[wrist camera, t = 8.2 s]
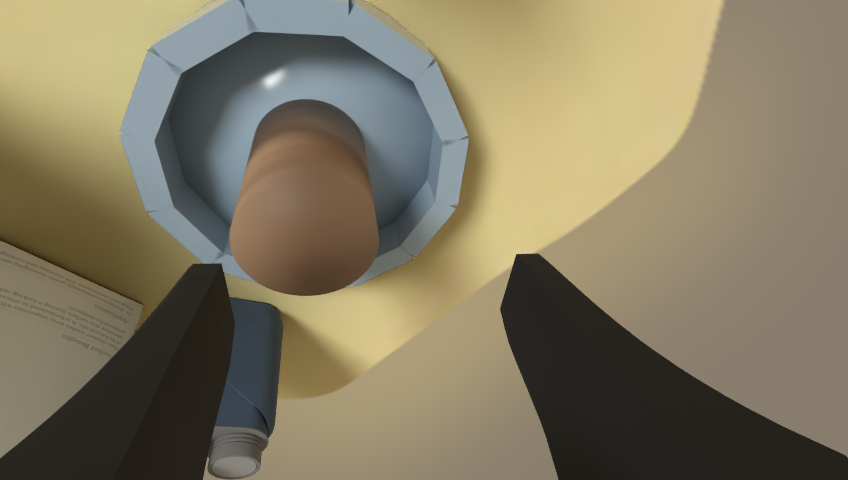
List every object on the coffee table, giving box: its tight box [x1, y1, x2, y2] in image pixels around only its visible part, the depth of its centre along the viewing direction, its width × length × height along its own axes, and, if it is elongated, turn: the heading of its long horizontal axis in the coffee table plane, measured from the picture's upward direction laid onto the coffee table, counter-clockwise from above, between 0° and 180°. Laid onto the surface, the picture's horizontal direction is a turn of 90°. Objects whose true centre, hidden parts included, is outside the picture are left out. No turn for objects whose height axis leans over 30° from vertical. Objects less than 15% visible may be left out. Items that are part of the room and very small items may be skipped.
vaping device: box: [207, 298, 283, 479], centre depth 20 cm, size 3×5×12 cm, turn 66°
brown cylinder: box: [229, 99, 379, 296], centre depth 16 cm, size 4×4×6 cm
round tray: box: [120, 0, 469, 288], centre depth 18 cm, size 12×12×2 cm
